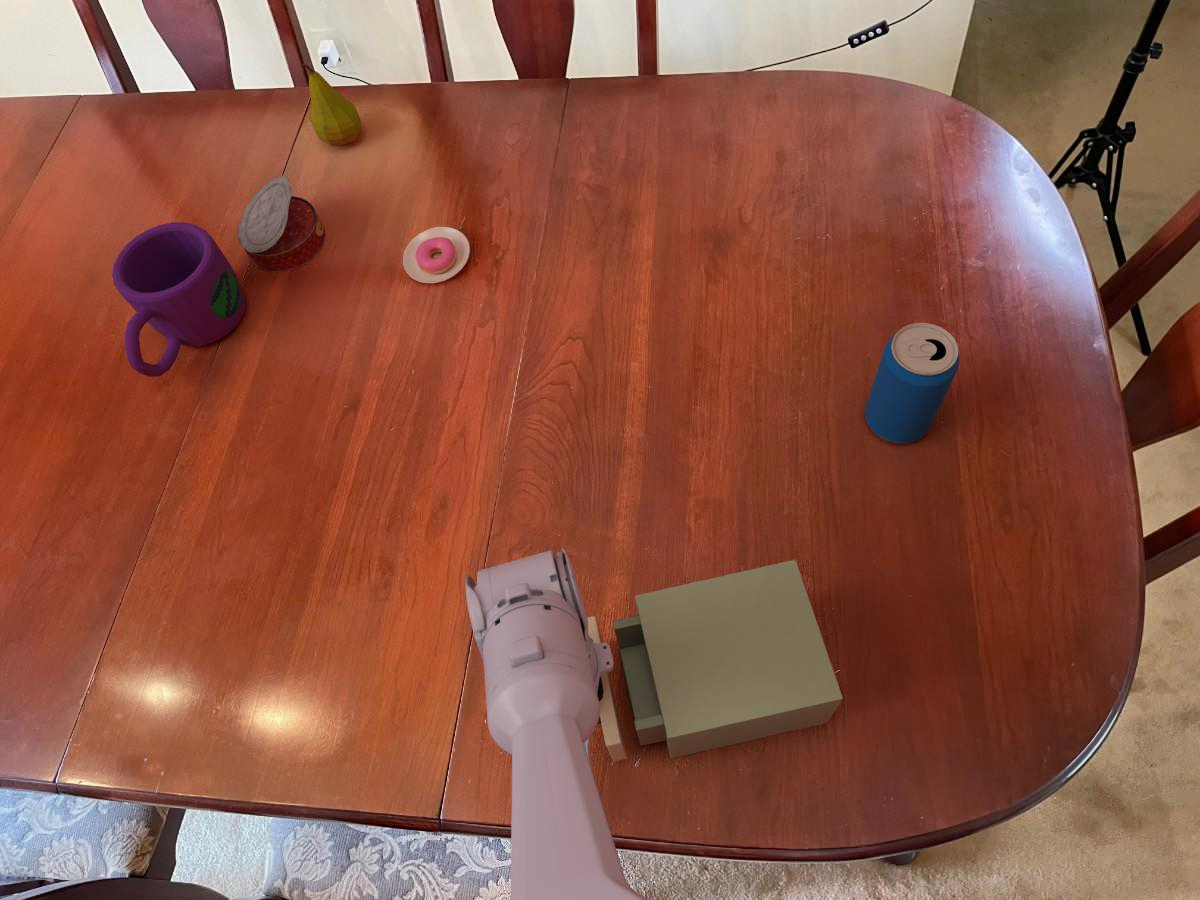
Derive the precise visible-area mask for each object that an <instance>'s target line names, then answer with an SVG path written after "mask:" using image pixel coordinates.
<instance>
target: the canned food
mask: <svg viewBox="0 0 1200 900" xmlns="http://www.w3.org/2000/svg"><path fill="white" fill-rule="evenodd" d="M292 194H293V192H292V187H291V184H290V180H289V178H288V177H286V175H280V176H275V177H273V178H272V179H270V181H268V182H266V183H265V184H264V185H262V187H261V188H260V189H259V190H258V191H257V192H256V193H255V194H254V195H253V196H252V198H251V199H250V201H249V203H248V204H247V206H246V207H245V208H244V210H243V214H242V217H241V219H240V221H239V224H238V229H237V239H238V242H239V243H238V244H240V246H241V247H242V249H243V250H244V252H245V253H246V254H247V256H248V257H249V259H250V261H251V262H252V264H253V265H254V266H255V267H256V268H258V269H260V270H262V271H265V272H270V273H285V272H290V271H293V270H296V269H299V268H301V267H303V266H304V265H306V264H308V263H310V261H312V260H313V259H314V258H316V256H318V254H319V253H320V252H321V250H322V248H323V247H324V244H325V243H326V236H327V235H326V234H327V233H326V228H325V225H324V224H323V222H322V220H321V218H320V216H319V214H318V212H317V210H316V208H315V206H314V205H313V204H312V203H311V202H310V201H308V200H307V199H304V198H303V197H301V196H295V195H292Z"/></svg>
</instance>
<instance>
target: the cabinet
mask: <svg viewBox="0 0 1200 900" xmlns="http://www.w3.org/2000/svg"><path fill="white" fill-rule="evenodd" d="M801 574H802V573H801V571H800V568H799V565H798V563H797V560H796V559H792V560H787V561H782V562H778V563H773V564H769V565H765V566H760V567H756V568H752V569H747V570H743V571H738V572H733V573H729V574H725V575H720V576H716V577H712V578H708V579H707V578H706V579H702V580H698V581H693V582H689V583H685V584H680V585H676V586H671V587H667V588H662V589H657V590H653V591H649V592H645V593H644V592H643V593H640V594H637V595H634V600H635V605H636V613H637V615H639V618H640V622H641V626H642V631H643V635H644V639H645V644H646V648H647V652H648V657H649V661H650V665H651V670H652V674H653V678H654V683H655V687H656V691H657V696H658V700H659V704H660V709H661V713H662V717H663V722H664V726H665V730H666V737H667V740H665V741H666V745H667V746H666V747H667V750H668V754H669V758H670V759H675V758H679V757H683V756H688V755H689V756H690V755H693V754H698V753H701V752H705V751H710V750H714V749H719V748H723V747H729V746H732V745H737V744H741V743H746V742H750V741H753V740H759V739H763V738H769V737H772V736H776V735H780V734H784V733H790V732H793V731H798V730H802V729H807V728H811V727H815V726H820V725H824V724H828V723H829V721H830V720H831V718H832V716H833V715H834V713H835V712H836V710H838V709H837V708H838V707H839V705H840V704H841V703H842V701H843V699H844V698H843V694H842V692H841V689H840V685H839V683H838V679H837V676H836V674H835V671H834V668H833V665H832V662H831V660H830V659H831V658H830V656H829V654H828V650H827V646H826V643H825V642H824V639H823V635H822V632H821V629H820V627H819V624H818V621H817V618H816V615H815V612H814V609H813V606H812V604H811V600H810V598H809V595H808V592H807V589H806V586H805V583H804V581H803V577H802V575H801Z"/></svg>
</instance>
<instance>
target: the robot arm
mask: <svg viewBox="0 0 1200 900" xmlns="http://www.w3.org/2000/svg"><path fill="white" fill-rule="evenodd" d="M464 581H465V583H464V584H465V585H464V586H465V597H466V598H465V599H466V607H467V612H468V617H469V622H470V626H471V628H472V633H473V636H474V641H475V643H476V645H477V648H478V650H479V654H480V656H481V658H482V662H483V672H484V689H485V705H486V706H485V707H486V721H487V728H488V731H489V734H490V736H491V737H492V739H493V741H494V743H496V745H497V746H498V747H499V748H500V749H501V750H502V751H504V752H506V753H507V754H510V755H511V821H510V822H511V825H510V827H511V830H510V831H511V835H510V900H651V899H650V898H648V897H646V896H644V895H642V894H641V893H638V892H637V891H636V890H634V889H633V888H632V887H631V886H630V885H629V882H628V881H627V879H626V876H625V873H624V870H623V867H622V863H621V860H620V856H619V853H618V850H617V847H616V844H615V841H614V837H613V835H612V831H611V828H610V824H609V822H608V818H607V815H606V812H605V810H604V809H605V808H604V805H603V803H602V799H601V796H600V791H599V790H598V787H597V783H596V780H595V777H594V773H593V770H592V769H593V768H594V765H593V759H592V756H591V754H590V753H591V751H590V748H591V747H590V744H591V736H592V734H593V732H594V731H595V729H596V727H597V726H598V724H597V723H598V720H599V715H600V706H599V701H601V700H602V698H603V693H604V690H603V684H602V679H601V675H602V674H603V673H605V672H611V671H612V670H613V669H614V667H615V663H614V658H613V653H612V648H611V646H610V644H609V643H607V642H604V641H603V642H602V643H594V642H593V640H592V639H591V638H590V637H589V635H588V619H587V617H588V614H587V611H586V607H585V603H584V599H583V596H582V592H581V588H580V584H579V581H578V578H577V575H576V571H575V568H574V563H573V562H572V560H571V558H570V556H569V554H568V553H567V552H566V550H565V548H562V549H561V551H557V552H555V554H554V550H553V549H549V550H545V551H542V552H539V553H535V554H531V555H528V556H524V557H521V558H517V559H514V560H510V561H506V562H504V563H503V562H502V563H499V564H496V565H493V566H490V567H489V566H488V567H486V568H483V569H482V568H481V569H479V570H478V571H477V573H476V583H477V584H476V583H475V581H474V579H473V577H472V575H470V574H467V575H466V576H465V580H464Z"/></svg>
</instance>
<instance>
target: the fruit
mask: <svg viewBox="0 0 1200 900" xmlns="http://www.w3.org/2000/svg"><path fill="white" fill-rule="evenodd" d="M302 66H303V67H305V68H306V69H307V70H308V71H309V73H310V74H309V77H308V90H309V94H310V110H309V116H308V117H309V121H310V123H311V126H312V127H313V130H314V132H315V134H316V136H317V137H318V139H320V140H321V141H323V142H324V143H326V144H328V145H330V146H331V147H334V146H335V147H336V146H342V145H343V146H344V145H348V144H351V143H353V142H354V141H355V140H356V139H357V137H358V136H359V134H360V132H361V130H362V120H361V118H360V115H359V113H358V109H357V108H356V106H355V104H354V103H353V102H352V101H350V100H348V99H347V98H345V97H344V96H343V95H342V94H341V93H339V92H338V91H337V90H336V89H335V88H334V87H333V86H332V85H331V84H330V83H329V82H328V81H327V80H326V79H325V78H324V76H322V75H321V73H320V72H318V71H316V70H313V69H312V68H311V67H310V66H309V65H307V64H305V63H302Z"/></svg>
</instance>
